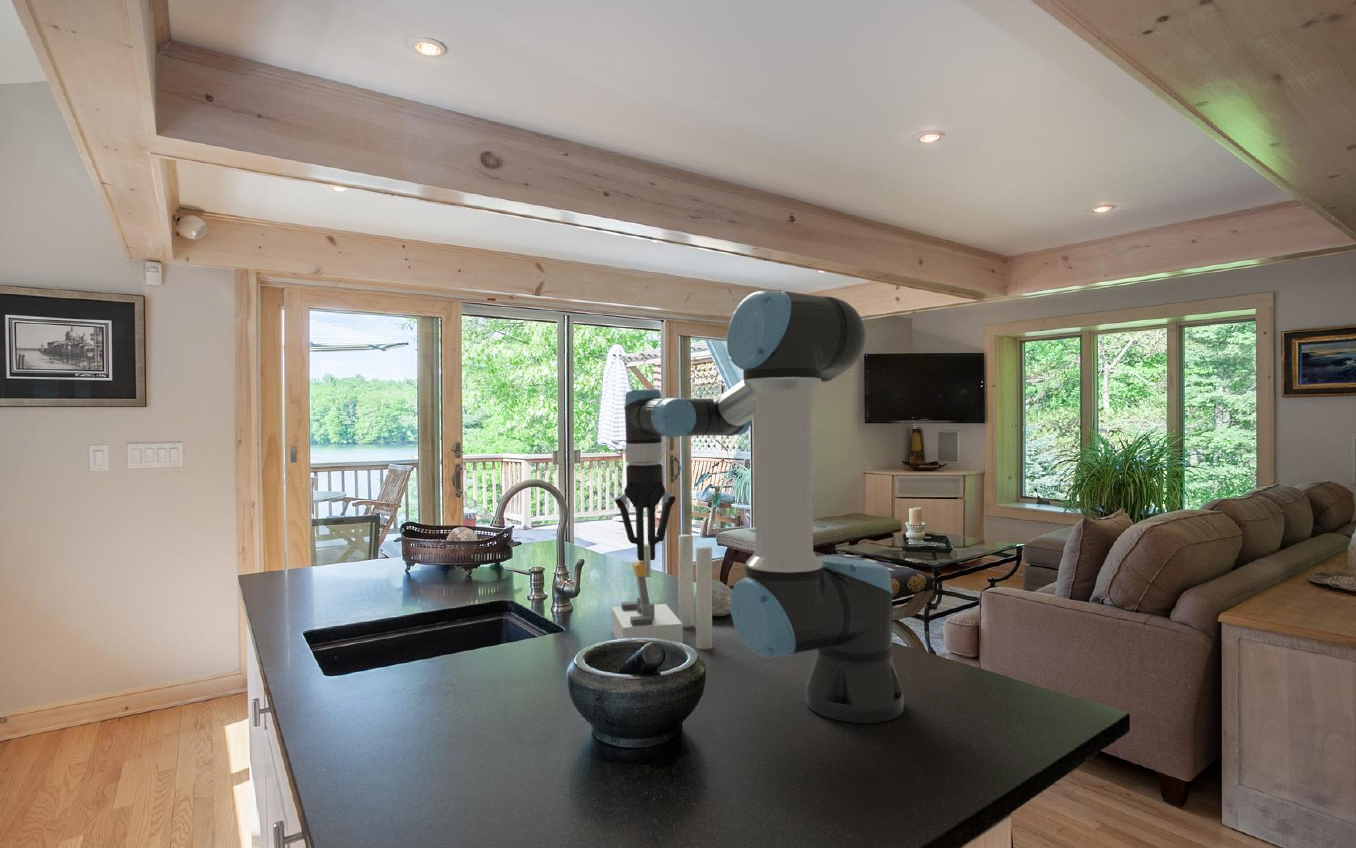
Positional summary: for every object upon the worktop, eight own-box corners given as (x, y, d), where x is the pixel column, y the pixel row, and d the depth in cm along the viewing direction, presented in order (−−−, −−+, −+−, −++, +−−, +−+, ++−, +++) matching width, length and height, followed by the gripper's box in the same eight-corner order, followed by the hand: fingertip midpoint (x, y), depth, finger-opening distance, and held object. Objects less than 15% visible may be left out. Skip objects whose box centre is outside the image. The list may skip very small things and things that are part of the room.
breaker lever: (652, 614, 148) (644, 564, 148) (643, 616, 148) (635, 566, 148) (649, 609, 152) (641, 560, 152) (640, 611, 152) (632, 562, 152)
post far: (694, 627, 159) (694, 536, 159) (680, 628, 158) (680, 537, 158) (691, 623, 162) (690, 534, 162) (677, 624, 161) (677, 534, 161)
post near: (714, 648, 144) (713, 548, 144) (698, 650, 143) (698, 549, 143) (709, 644, 147) (709, 545, 147) (694, 645, 146) (694, 546, 146)
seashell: (727, 606, 159) (738, 557, 171) (680, 612, 164) (694, 564, 176) (743, 633, 164) (752, 584, 175) (697, 638, 168) (709, 590, 180)
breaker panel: (682, 648, 144) (682, 608, 144) (623, 653, 141) (622, 612, 141) (665, 626, 159) (665, 590, 159) (611, 630, 157) (611, 593, 157)
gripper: (670, 461, 155) (672, 569, 156) (611, 463, 153) (613, 573, 153) (678, 463, 148) (680, 577, 149) (616, 465, 145) (618, 582, 146)
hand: (646, 575), depth 151 cm, fingers closed
